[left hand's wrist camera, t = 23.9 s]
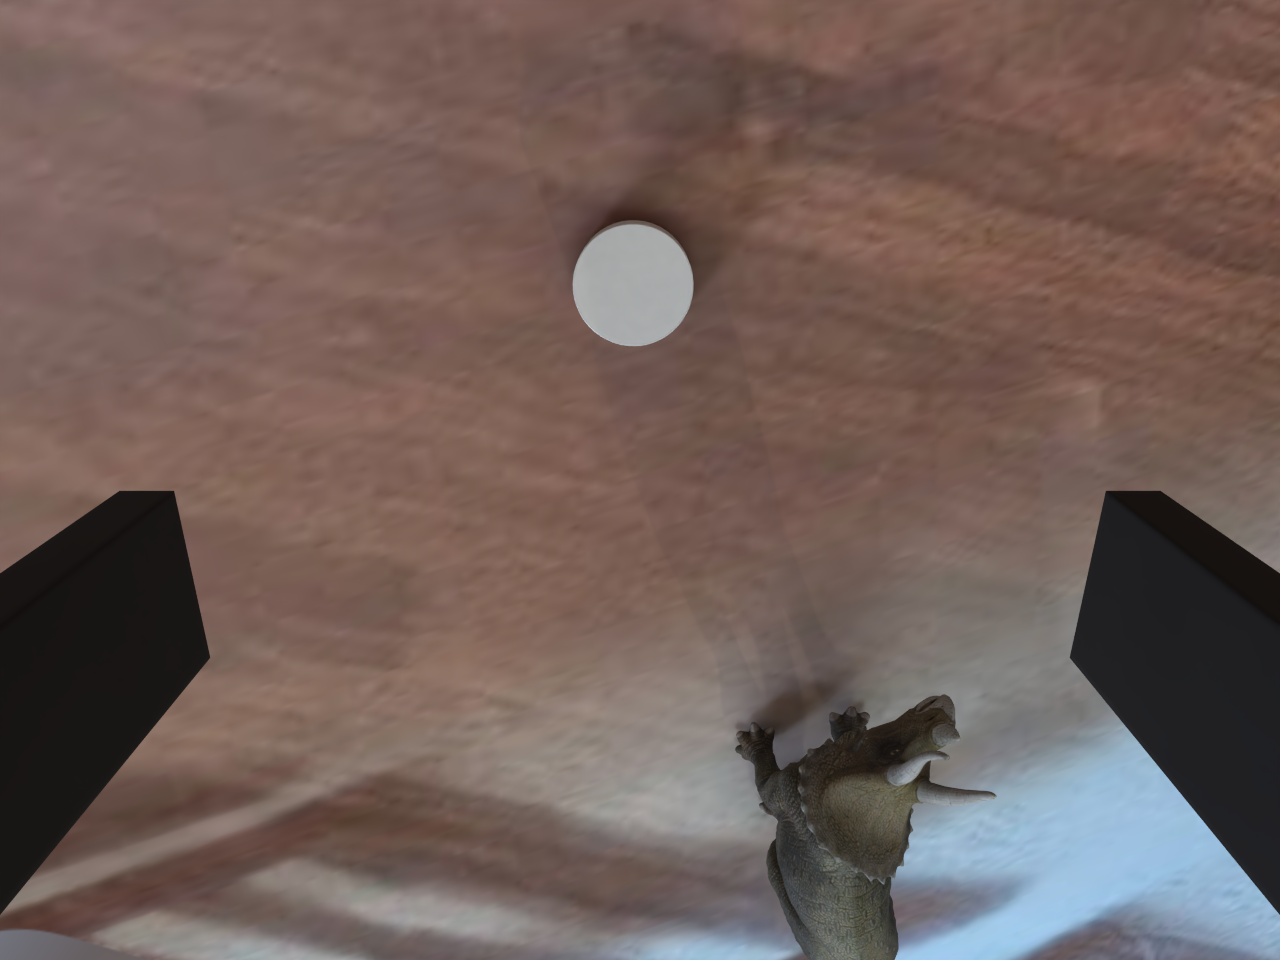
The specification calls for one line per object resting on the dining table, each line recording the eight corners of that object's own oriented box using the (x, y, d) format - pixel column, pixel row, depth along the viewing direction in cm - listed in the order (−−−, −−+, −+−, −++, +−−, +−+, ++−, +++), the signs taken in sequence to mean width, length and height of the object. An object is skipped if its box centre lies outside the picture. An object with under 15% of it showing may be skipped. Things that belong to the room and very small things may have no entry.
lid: (705, 316, 38) (708, 324, 36) (598, 352, 38) (596, 361, 37) (670, 203, 36) (672, 206, 34) (558, 242, 36) (555, 247, 35)
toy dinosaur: (862, 934, 51) (919, 1140, 41) (719, 931, 51) (739, 1137, 41) (916, 608, 43) (1005, 762, 32) (745, 605, 43) (779, 757, 32)
